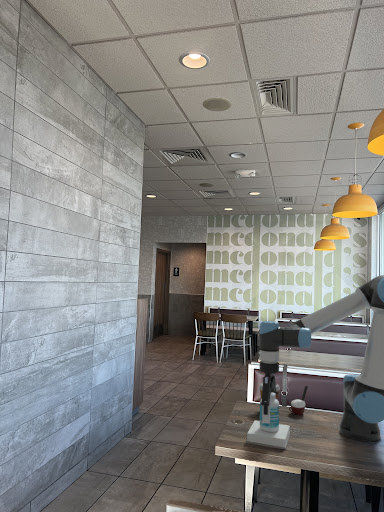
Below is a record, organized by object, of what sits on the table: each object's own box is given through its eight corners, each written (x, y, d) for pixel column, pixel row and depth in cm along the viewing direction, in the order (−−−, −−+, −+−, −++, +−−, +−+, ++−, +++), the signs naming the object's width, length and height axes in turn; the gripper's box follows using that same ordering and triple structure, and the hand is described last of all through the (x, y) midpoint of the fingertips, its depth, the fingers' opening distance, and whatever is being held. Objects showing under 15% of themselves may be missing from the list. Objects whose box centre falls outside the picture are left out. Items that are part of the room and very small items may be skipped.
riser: (290, 434, 150) (290, 425, 150) (285, 449, 136) (285, 439, 137) (254, 428, 155) (254, 420, 155) (246, 442, 141) (246, 433, 142)
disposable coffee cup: (280, 415, 171) (280, 388, 171) (258, 413, 173) (258, 386, 173) (279, 408, 180) (279, 382, 181) (259, 406, 182) (259, 381, 183)
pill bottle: (271, 434, 141) (271, 397, 142) (255, 428, 146) (255, 393, 147) (283, 429, 146) (283, 393, 147) (267, 423, 151) (267, 389, 152)
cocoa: (290, 416, 171) (289, 389, 171) (287, 411, 177) (286, 385, 177) (311, 416, 170) (310, 389, 170) (307, 410, 176) (306, 385, 177)
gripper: (265, 354, 160) (265, 405, 159) (253, 367, 137) (252, 426, 136) (283, 356, 158) (283, 407, 156) (274, 369, 134) (273, 430, 133)
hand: (269, 416), depth 146 cm, fingers open, 13 cm apart
